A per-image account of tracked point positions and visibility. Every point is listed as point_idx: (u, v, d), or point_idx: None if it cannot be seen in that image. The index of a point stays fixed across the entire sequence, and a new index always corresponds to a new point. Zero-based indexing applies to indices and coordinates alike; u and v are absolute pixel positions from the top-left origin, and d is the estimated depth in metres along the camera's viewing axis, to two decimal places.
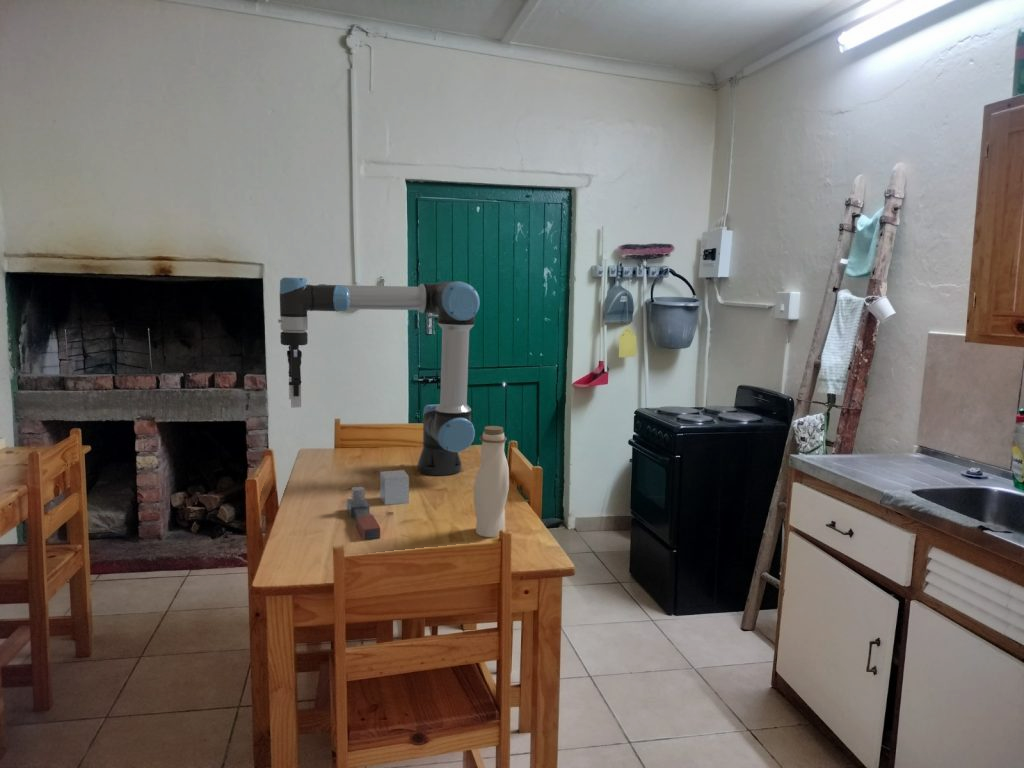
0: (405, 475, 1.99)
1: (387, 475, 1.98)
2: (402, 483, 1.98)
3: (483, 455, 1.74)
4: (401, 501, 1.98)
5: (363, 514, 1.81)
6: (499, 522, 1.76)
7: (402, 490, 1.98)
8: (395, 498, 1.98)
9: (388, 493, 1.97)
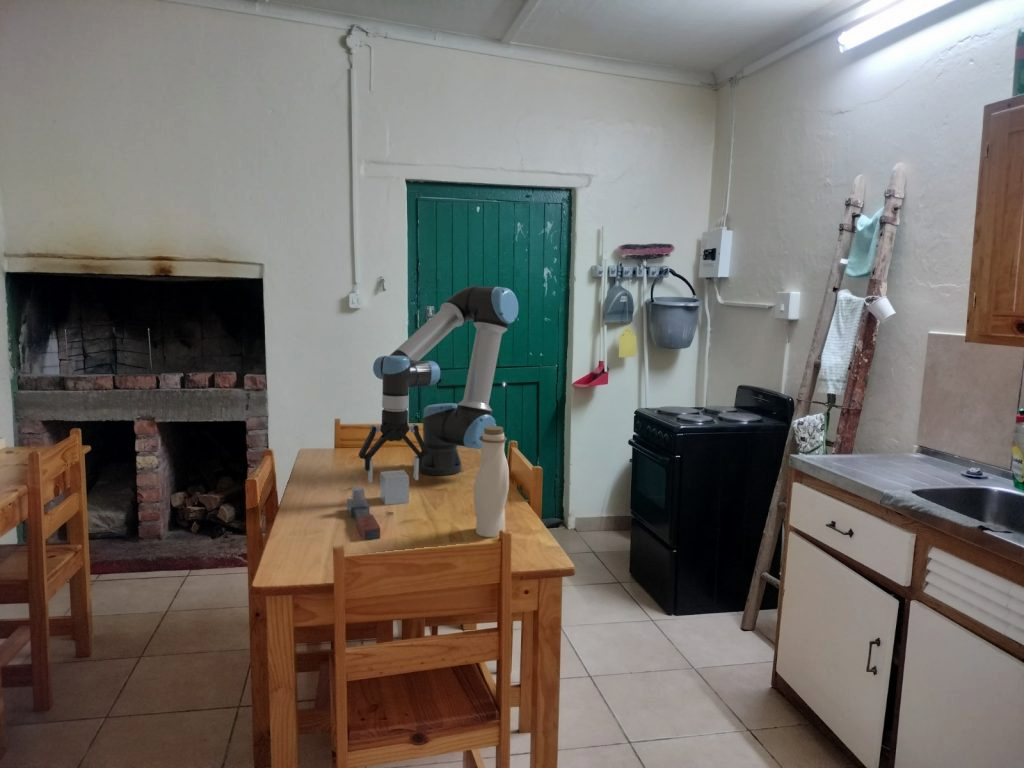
0: (405, 475, 1.99)
1: (387, 475, 1.98)
2: (402, 483, 1.98)
3: (483, 455, 1.74)
4: (401, 501, 1.98)
5: (363, 514, 1.81)
6: (499, 522, 1.76)
7: (402, 490, 1.98)
8: (395, 498, 1.98)
9: (388, 493, 1.97)
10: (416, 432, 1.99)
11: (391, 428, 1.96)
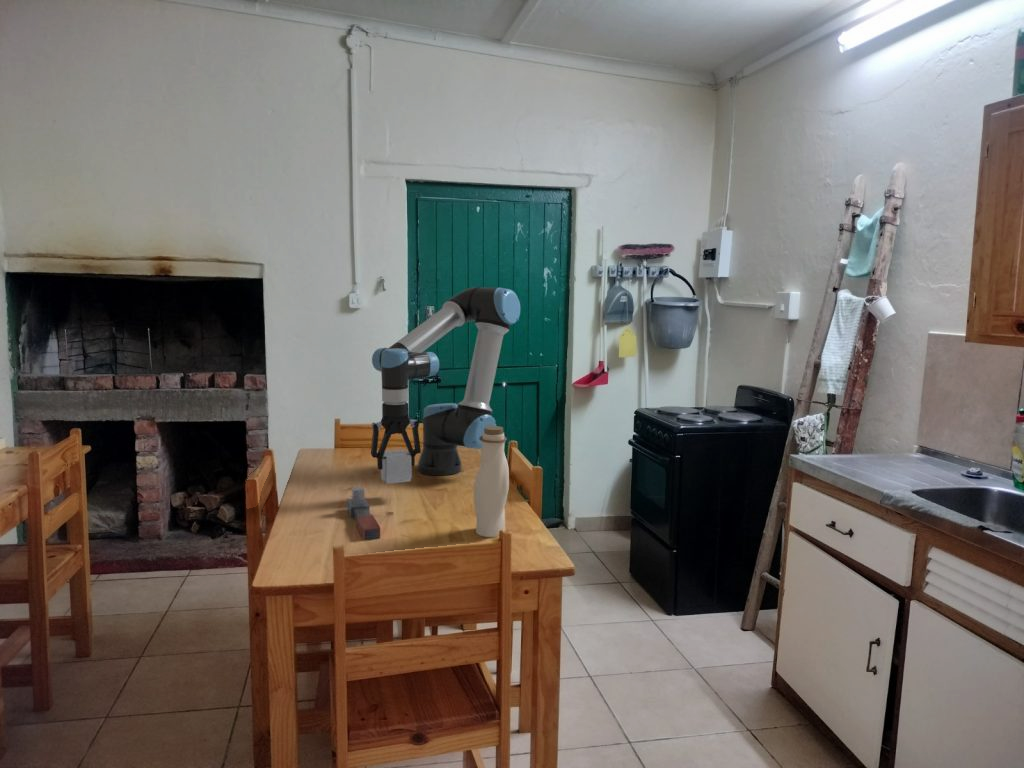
0: (406, 454, 1.99)
1: (388, 454, 1.98)
2: (404, 462, 1.97)
3: (483, 455, 1.74)
4: (403, 479, 1.98)
5: (363, 514, 1.81)
6: (499, 522, 1.76)
7: (404, 468, 1.98)
8: (397, 477, 1.97)
9: (390, 472, 1.96)
10: (415, 428, 1.99)
11: (391, 419, 1.96)
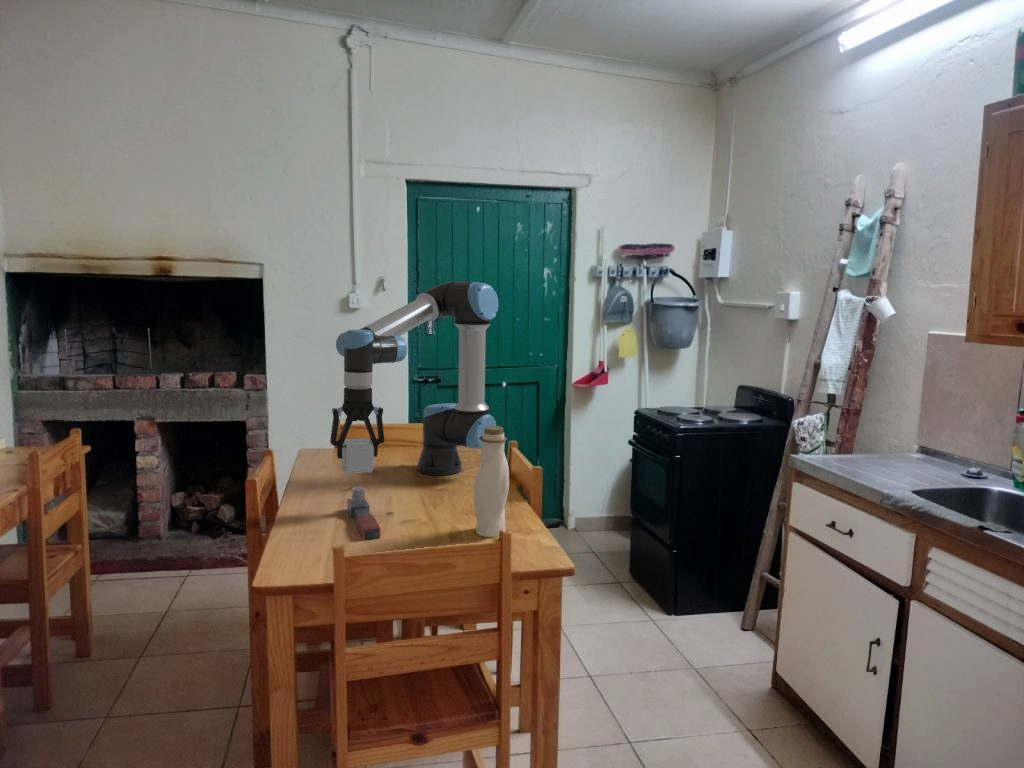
0: (369, 442, 1.85)
1: (349, 442, 1.85)
2: (365, 451, 1.84)
3: (483, 455, 1.74)
4: (364, 470, 1.85)
5: (363, 514, 1.81)
6: (499, 522, 1.76)
7: (366, 458, 1.84)
8: (357, 466, 1.84)
9: (350, 461, 1.83)
10: (379, 415, 1.86)
11: (353, 405, 1.83)
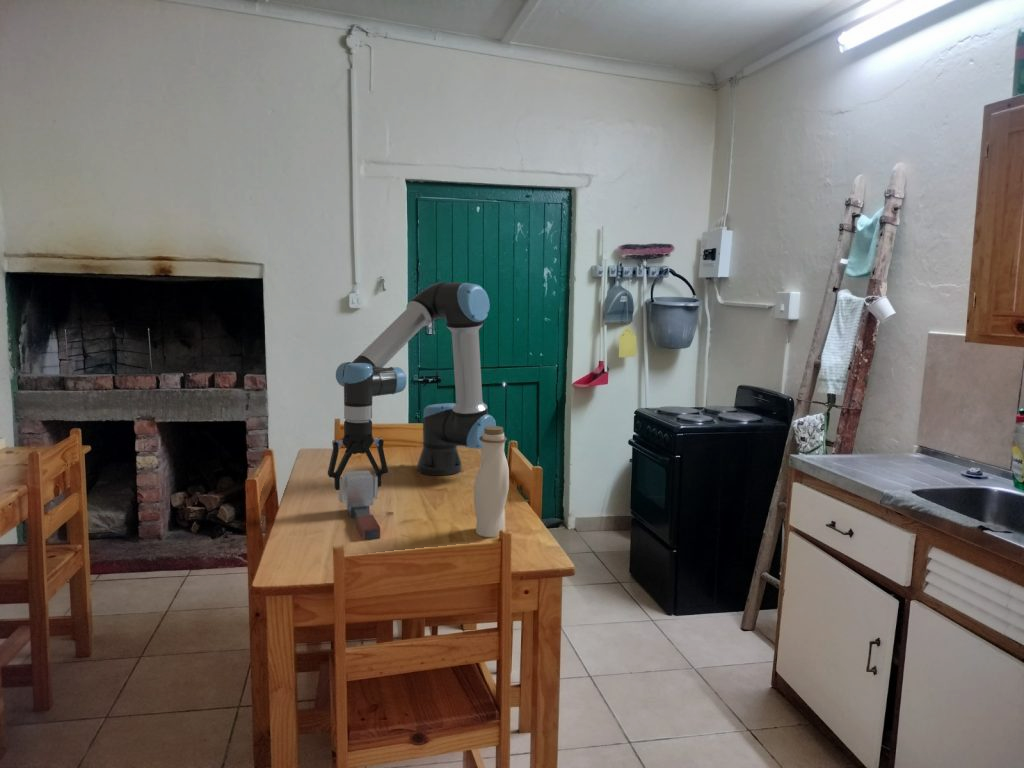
0: (369, 476, 1.87)
1: (350, 476, 1.86)
2: (366, 484, 1.86)
3: (483, 455, 1.74)
4: (365, 503, 1.86)
5: (363, 514, 1.81)
6: (499, 522, 1.76)
7: (366, 492, 1.86)
8: (358, 500, 1.85)
9: (351, 495, 1.84)
10: (380, 446, 1.88)
11: (354, 439, 1.85)
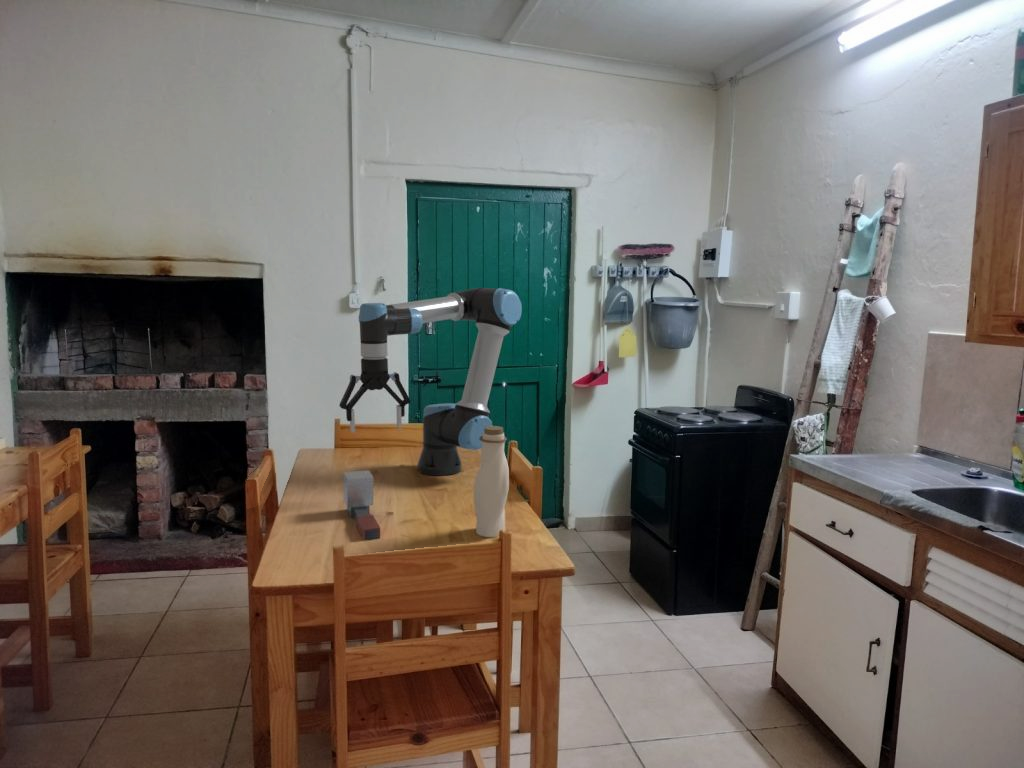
0: (369, 476, 1.87)
1: (350, 476, 1.86)
2: (366, 484, 1.86)
3: (483, 455, 1.74)
4: (365, 503, 1.86)
5: (363, 514, 1.81)
6: (499, 522, 1.76)
7: (366, 492, 1.86)
8: (358, 500, 1.85)
9: (351, 495, 1.84)
10: (397, 380, 1.97)
11: (371, 377, 1.93)
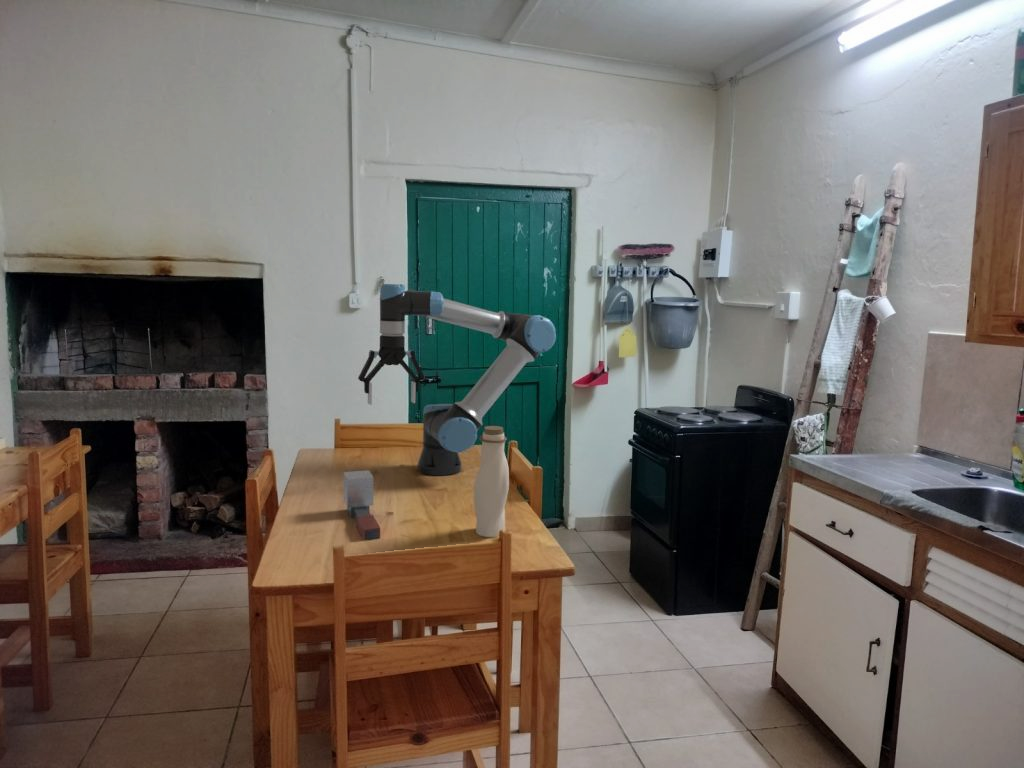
0: (369, 476, 1.87)
1: (350, 476, 1.86)
2: (366, 484, 1.86)
3: (483, 455, 1.74)
4: (365, 503, 1.86)
5: (363, 514, 1.81)
6: (499, 522, 1.76)
7: (366, 492, 1.86)
8: (358, 500, 1.85)
9: (351, 495, 1.84)
10: (412, 357, 2.10)
11: (389, 353, 2.07)
